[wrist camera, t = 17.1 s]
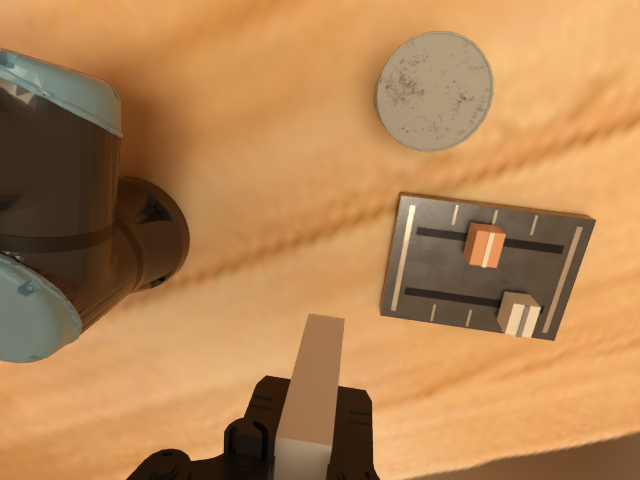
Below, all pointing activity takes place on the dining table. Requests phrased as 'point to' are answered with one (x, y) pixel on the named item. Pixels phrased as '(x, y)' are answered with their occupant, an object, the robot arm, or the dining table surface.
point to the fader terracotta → (483, 245)
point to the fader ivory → (518, 314)
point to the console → (475, 281)
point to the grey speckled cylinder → (434, 91)
